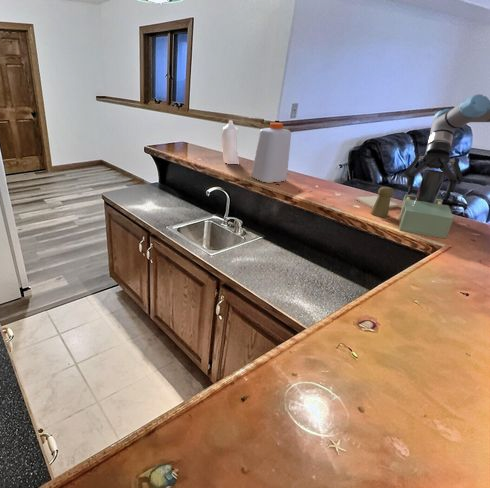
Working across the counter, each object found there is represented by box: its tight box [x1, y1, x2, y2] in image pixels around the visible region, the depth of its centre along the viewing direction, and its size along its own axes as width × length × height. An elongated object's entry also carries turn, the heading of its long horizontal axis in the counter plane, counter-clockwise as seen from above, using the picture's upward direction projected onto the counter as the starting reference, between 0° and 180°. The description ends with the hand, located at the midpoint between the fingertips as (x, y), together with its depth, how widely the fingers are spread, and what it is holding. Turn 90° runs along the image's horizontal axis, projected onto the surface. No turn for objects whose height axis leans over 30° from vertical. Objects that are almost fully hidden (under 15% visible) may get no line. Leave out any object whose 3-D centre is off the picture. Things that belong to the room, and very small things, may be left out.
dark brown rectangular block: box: [415, 169, 446, 203], centre depth 132 cm, size 6×6×16 cm
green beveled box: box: [398, 199, 455, 240], centre depth 126 cm, size 15×14×8 cm
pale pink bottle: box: [221, 119, 240, 165], centre depth 207 cm, size 12×11×25 cm
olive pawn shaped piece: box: [370, 186, 395, 218], centre depth 137 cm, size 6×6×11 cm
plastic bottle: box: [251, 122, 292, 184], centre depth 176 cm, size 15×15×28 cm
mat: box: [354, 195, 400, 209], centre depth 151 cm, size 12×12×1 cm
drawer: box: [400, 193, 444, 209], centre depth 136 cm, size 18×12×6 cm
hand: (428, 195), depth 130 cm, fingers open, 11 cm apart
